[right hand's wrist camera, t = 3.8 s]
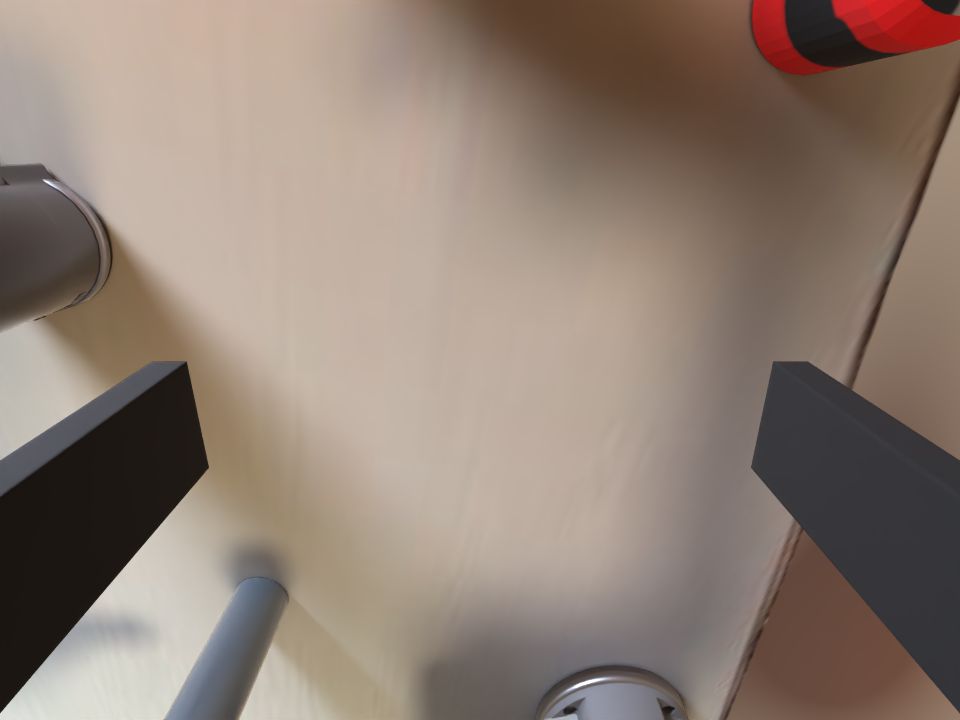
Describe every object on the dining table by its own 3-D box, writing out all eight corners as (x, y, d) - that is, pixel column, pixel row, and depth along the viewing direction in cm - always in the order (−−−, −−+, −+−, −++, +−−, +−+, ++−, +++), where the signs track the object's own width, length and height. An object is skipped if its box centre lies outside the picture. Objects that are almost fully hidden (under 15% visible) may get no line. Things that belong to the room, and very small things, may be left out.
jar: (223, 591, 50) (86, 829, 33) (264, 568, 49) (145, 801, 32) (259, 625, 52) (146, 870, 34) (299, 603, 51) (203, 844, 33)
